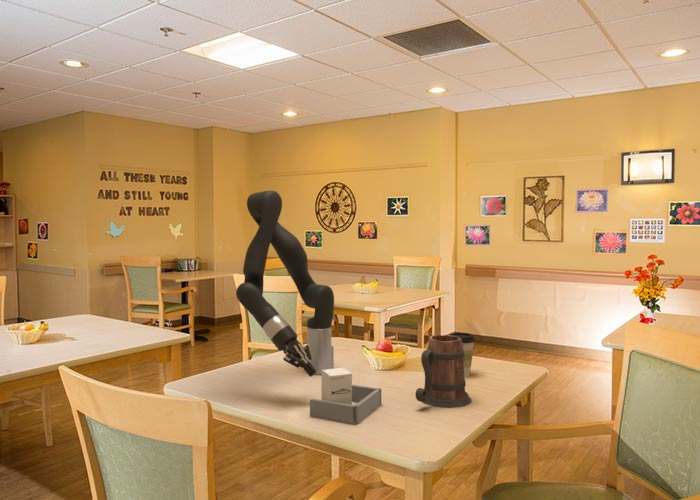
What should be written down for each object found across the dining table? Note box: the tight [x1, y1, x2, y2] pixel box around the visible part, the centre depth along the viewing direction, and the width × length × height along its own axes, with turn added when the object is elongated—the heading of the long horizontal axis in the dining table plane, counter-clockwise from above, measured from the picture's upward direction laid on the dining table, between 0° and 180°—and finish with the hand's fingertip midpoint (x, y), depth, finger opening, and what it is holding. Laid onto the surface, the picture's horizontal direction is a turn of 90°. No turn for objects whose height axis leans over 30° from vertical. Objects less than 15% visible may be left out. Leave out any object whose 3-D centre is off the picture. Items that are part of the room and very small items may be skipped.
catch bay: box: [309, 384, 382, 426], centre depth 162 cm, size 15×18×5 cm
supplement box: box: [321, 367, 353, 405], centre depth 160 cm, size 7×7×13 cm
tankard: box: [415, 334, 472, 409], centre depth 170 cm, size 24×17×20 cm
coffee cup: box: [449, 332, 476, 378], centre depth 199 cm, size 10×10×15 cm
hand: (313, 374), depth 167 cm, fingers closed
